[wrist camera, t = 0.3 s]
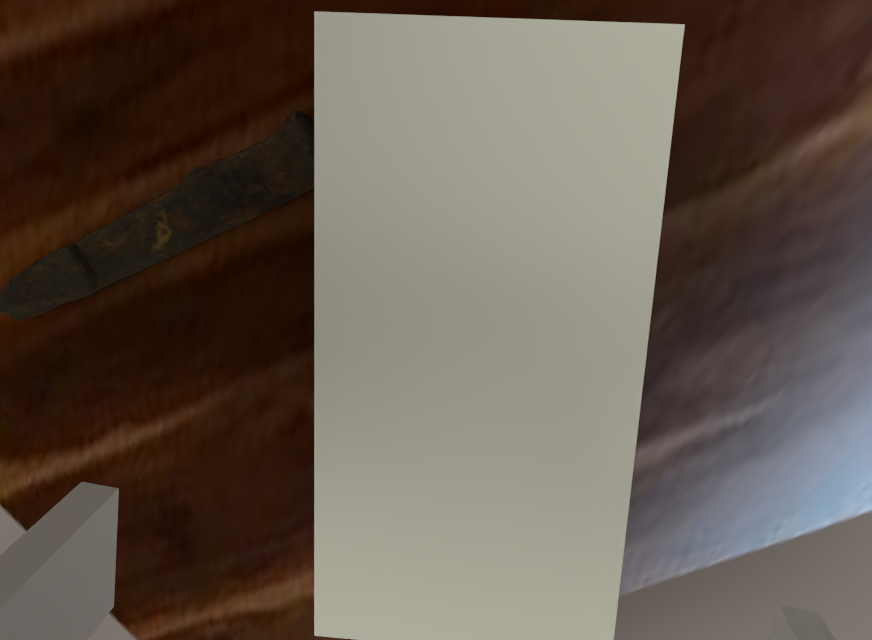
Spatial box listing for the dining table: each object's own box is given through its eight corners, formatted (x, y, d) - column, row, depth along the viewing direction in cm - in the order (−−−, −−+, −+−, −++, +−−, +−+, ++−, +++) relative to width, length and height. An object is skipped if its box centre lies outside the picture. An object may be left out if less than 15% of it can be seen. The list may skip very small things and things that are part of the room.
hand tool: (318, 105, 40) (294, 107, 36) (352, 181, 41) (332, 192, 37) (4, 249, 44) (-53, 267, 39) (41, 316, 45) (-11, 341, 40)
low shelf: (374, 36, 39) (314, 11, 27) (629, 46, 38) (684, 24, 26) (365, 492, 45) (314, 635, 33) (583, 509, 44) (611, 662, 32)
